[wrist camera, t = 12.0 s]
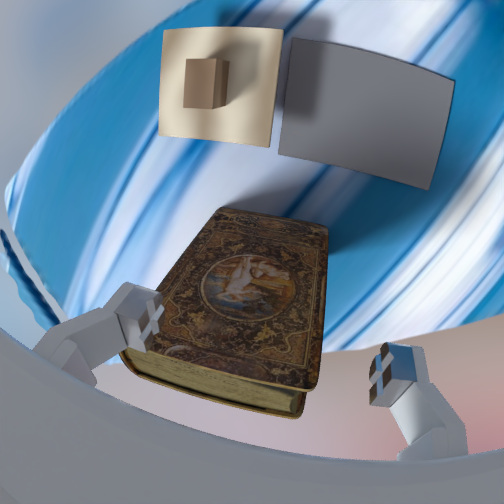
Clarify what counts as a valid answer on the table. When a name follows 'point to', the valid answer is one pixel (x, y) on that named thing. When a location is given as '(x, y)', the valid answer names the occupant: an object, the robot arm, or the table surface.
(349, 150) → the mat
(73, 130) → the table surface
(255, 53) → the board
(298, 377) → the book
